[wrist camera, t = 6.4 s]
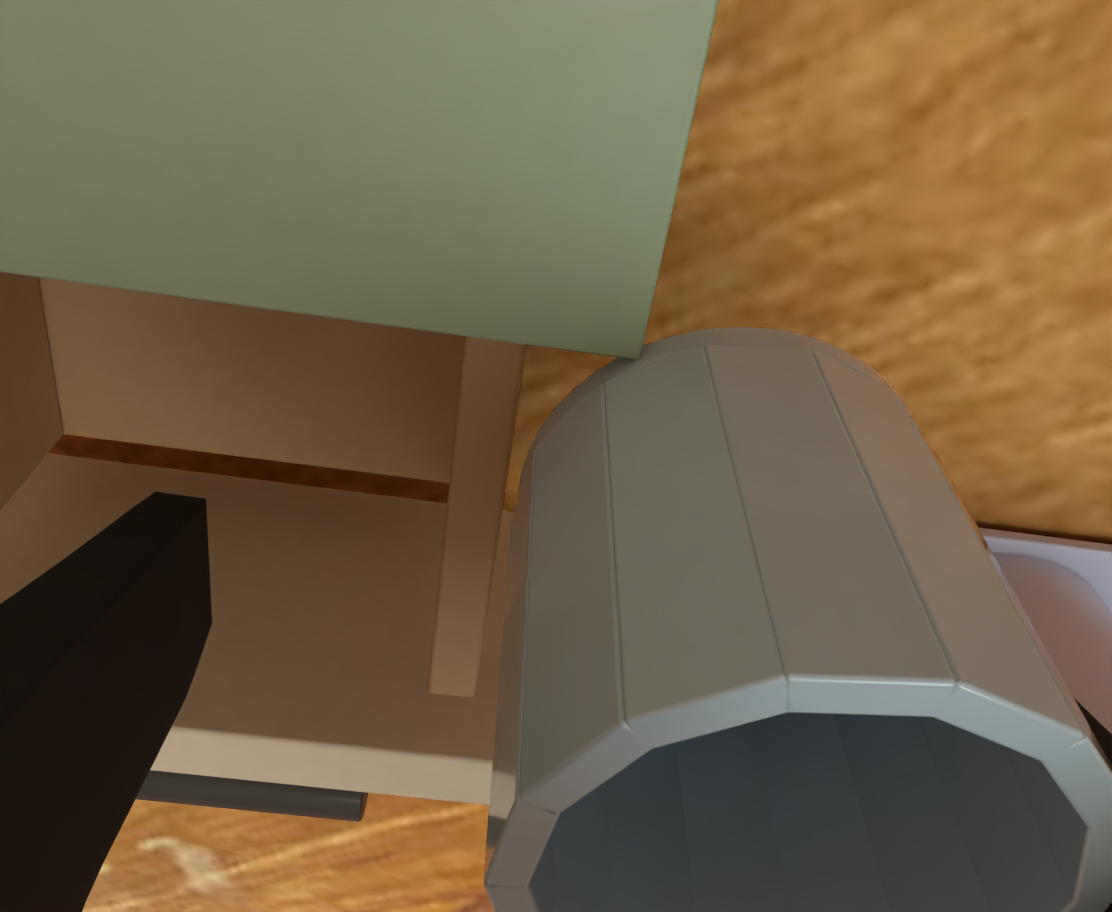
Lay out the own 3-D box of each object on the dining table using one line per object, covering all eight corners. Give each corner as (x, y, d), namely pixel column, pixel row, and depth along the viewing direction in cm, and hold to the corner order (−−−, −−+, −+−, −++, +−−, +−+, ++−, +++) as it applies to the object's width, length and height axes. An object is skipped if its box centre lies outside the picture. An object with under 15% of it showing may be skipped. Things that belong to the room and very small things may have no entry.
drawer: (497, 671, 26) (475, 936, 20) (58, 621, 25) (-108, 882, 19) (603, 20, 17) (621, 134, 11) (-76, -91, 16) (-473, -35, 10)
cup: (772, 695, 15) (862, 1088, 10) (447, 567, 13) (387, 958, 9) (1020, 439, 12) (1289, 822, 8) (646, 245, 11) (704, 573, 6)
